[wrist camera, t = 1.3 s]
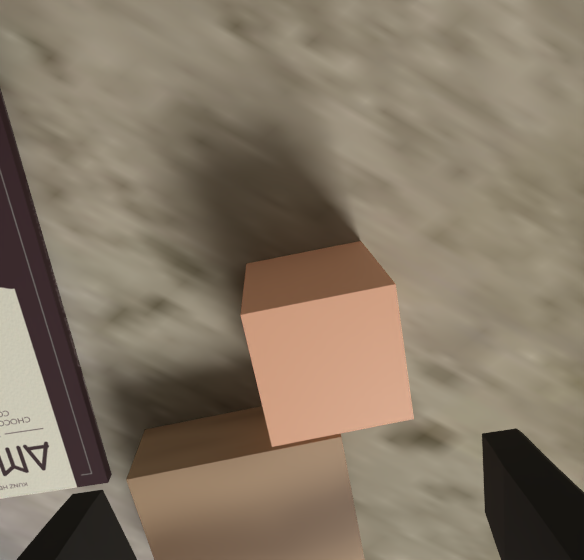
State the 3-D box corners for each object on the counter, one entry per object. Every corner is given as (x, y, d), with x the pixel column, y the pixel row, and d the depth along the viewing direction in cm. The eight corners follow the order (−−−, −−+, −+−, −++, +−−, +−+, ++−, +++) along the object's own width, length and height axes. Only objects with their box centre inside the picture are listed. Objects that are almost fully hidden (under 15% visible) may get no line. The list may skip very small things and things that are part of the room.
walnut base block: (357, 534, 24) (372, 599, 21) (192, 566, 25) (182, 637, 21) (329, 388, 22) (341, 436, 19) (146, 425, 22) (126, 480, 19)
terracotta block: (376, 344, 21) (413, 418, 16) (269, 366, 21) (272, 446, 16) (360, 240, 20) (395, 284, 15) (246, 263, 20) (240, 314, 15)
